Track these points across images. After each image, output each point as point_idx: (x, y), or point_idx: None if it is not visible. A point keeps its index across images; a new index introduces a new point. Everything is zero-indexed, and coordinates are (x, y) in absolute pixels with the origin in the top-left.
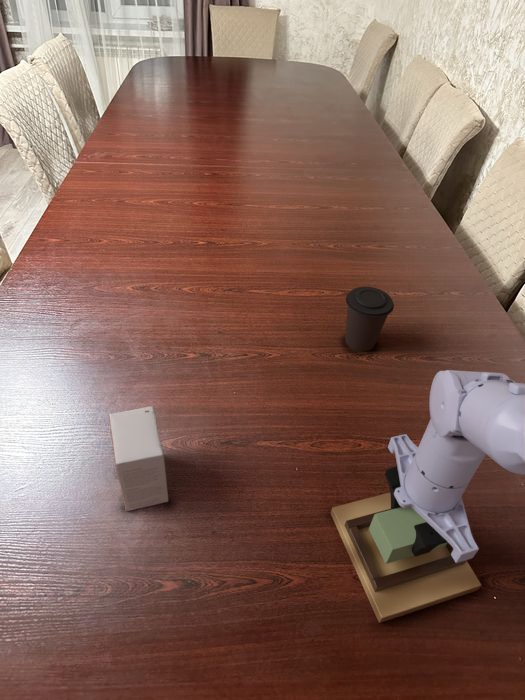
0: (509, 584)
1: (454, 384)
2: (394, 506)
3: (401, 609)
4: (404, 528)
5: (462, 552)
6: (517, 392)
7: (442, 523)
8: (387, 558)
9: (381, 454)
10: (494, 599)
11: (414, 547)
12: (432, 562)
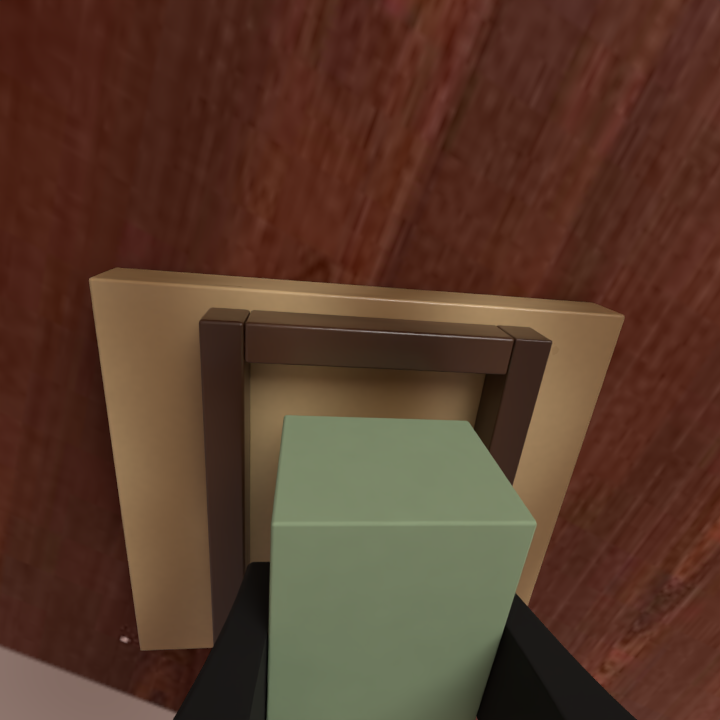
0: (151, 683)
1: None
2: (518, 648)
3: (111, 377)
4: (374, 630)
5: None
6: None
7: None
8: (285, 442)
9: (660, 560)
10: (118, 637)
11: (250, 627)
12: (239, 576)
